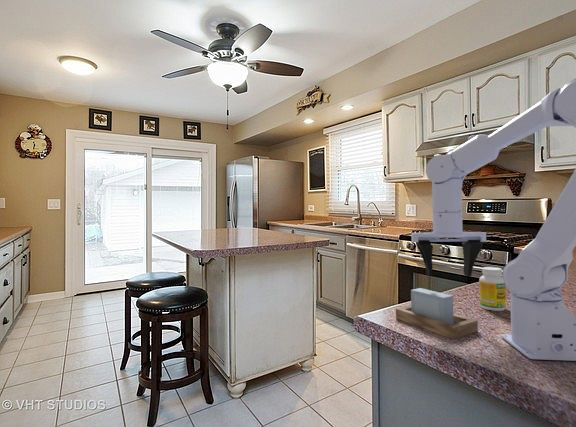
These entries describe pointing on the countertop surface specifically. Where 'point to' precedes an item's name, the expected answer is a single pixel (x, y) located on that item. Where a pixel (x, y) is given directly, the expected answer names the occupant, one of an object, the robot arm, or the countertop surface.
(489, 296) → the supplement bottle
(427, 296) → the grey rectangular block
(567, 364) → the countertop surface
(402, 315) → the wooden tray
